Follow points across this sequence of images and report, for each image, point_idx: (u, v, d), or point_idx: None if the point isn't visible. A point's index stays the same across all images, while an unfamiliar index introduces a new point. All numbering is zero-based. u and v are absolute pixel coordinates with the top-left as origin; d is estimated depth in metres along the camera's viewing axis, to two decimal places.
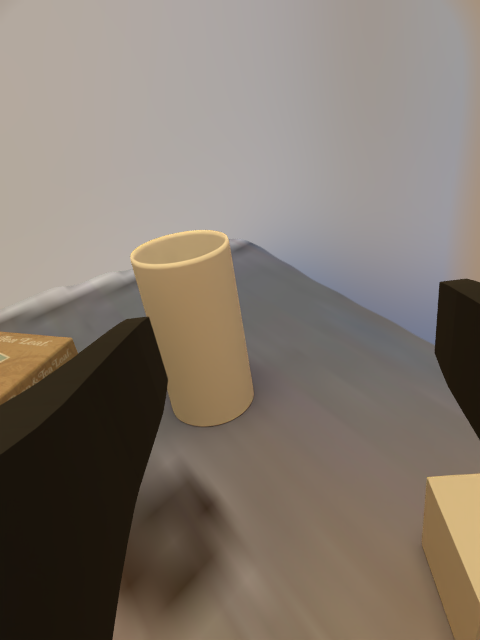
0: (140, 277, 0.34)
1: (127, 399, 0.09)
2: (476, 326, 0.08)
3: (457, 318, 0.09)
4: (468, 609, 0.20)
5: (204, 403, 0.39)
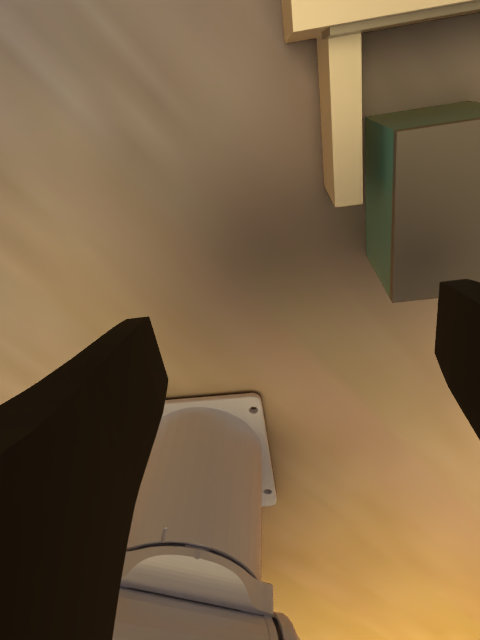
0: None
1: (127, 399, 0.09)
2: (476, 326, 0.08)
3: (457, 318, 0.09)
4: None
5: None
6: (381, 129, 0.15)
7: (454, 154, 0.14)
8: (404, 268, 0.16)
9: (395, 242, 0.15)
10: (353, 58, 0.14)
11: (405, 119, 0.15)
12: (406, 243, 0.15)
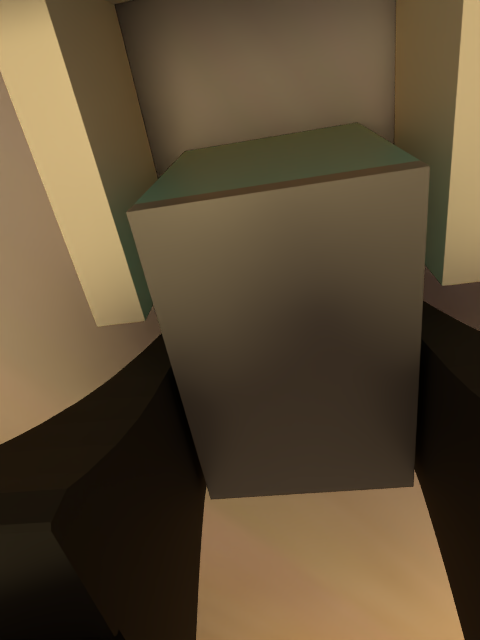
0: None
1: None
2: None
3: None
4: None
5: None
6: None
7: (263, 257, 0.06)
8: (217, 451, 0.08)
9: (188, 411, 0.08)
10: (43, 48, 0.06)
11: (209, 167, 0.08)
12: (209, 413, 0.08)
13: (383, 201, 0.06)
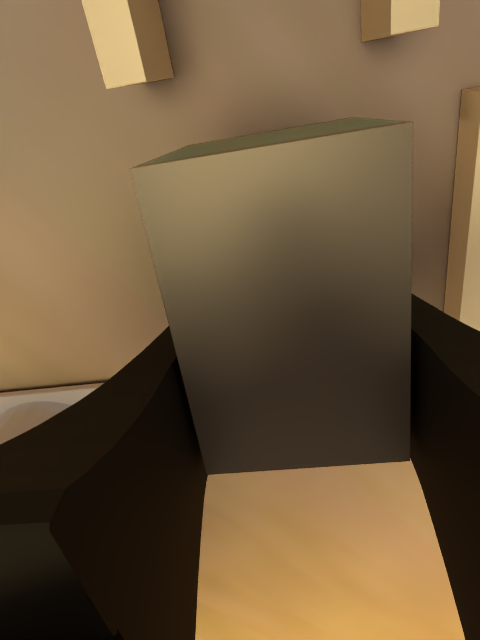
0: None
1: None
2: None
3: None
4: None
5: None
6: None
7: (257, 213, 0.07)
8: (213, 420, 0.08)
9: (185, 376, 0.08)
10: None
11: (210, 146, 0.08)
12: (205, 378, 0.08)
13: (369, 156, 0.06)
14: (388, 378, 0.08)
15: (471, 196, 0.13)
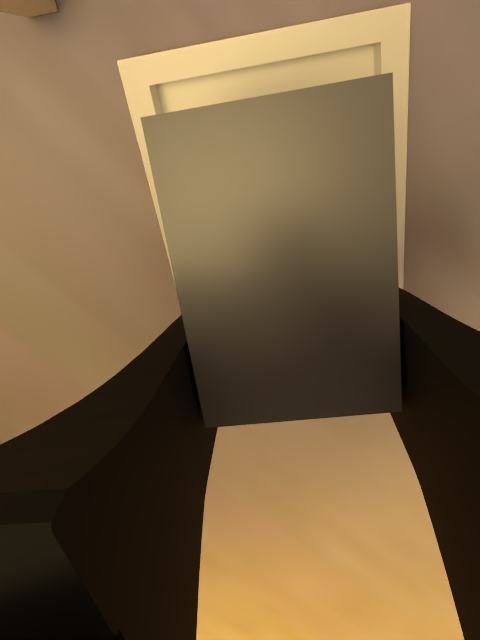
0: None
1: (196, 393, 0.09)
2: None
3: None
4: None
5: None
6: None
7: (256, 158, 0.07)
8: (212, 368, 0.09)
9: (186, 322, 0.08)
10: None
11: None
12: (205, 324, 0.08)
13: (355, 104, 0.07)
14: (378, 323, 0.08)
15: (142, 157, 0.15)
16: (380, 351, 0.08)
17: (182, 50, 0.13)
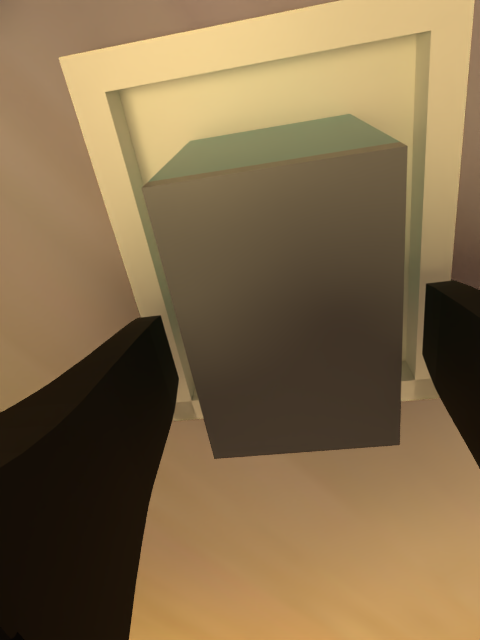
0: None
1: (141, 398, 0.09)
2: (460, 328, 0.09)
3: (442, 320, 0.09)
4: None
5: None
6: None
7: (263, 228, 0.07)
8: (220, 411, 0.09)
9: (194, 373, 0.09)
10: None
11: (214, 152, 0.09)
12: (213, 374, 0.09)
13: (367, 177, 0.07)
14: (381, 373, 0.08)
15: (101, 188, 0.11)
16: (381, 397, 0.09)
17: (149, 43, 0.09)
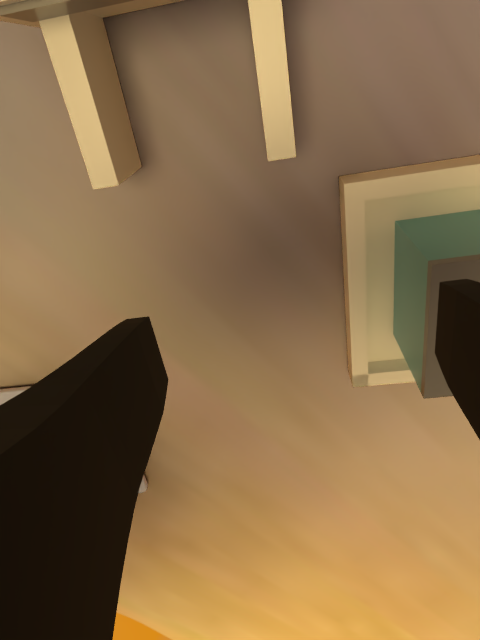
0: None
1: (127, 399, 0.09)
2: (476, 326, 0.08)
3: (457, 318, 0.09)
4: None
5: None
6: (414, 248, 0.17)
7: None
8: (435, 371, 0.17)
9: (428, 350, 0.17)
10: (68, 40, 0.14)
11: (435, 238, 0.17)
12: None
13: None
14: None
15: (346, 248, 0.19)
16: None
17: (395, 178, 0.17)
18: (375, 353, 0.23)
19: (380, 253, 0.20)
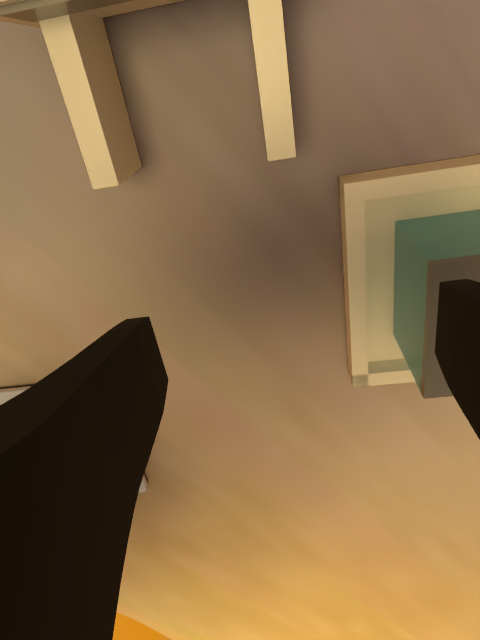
0: None
1: (127, 399, 0.09)
2: (476, 326, 0.08)
3: (457, 318, 0.09)
4: None
5: None
6: (414, 248, 0.17)
7: None
8: (435, 371, 0.17)
9: (428, 350, 0.17)
10: (68, 40, 0.14)
11: (435, 238, 0.17)
12: None
13: None
14: None
15: (346, 248, 0.19)
16: None
17: (395, 178, 0.17)
18: (375, 353, 0.23)
19: (380, 253, 0.20)
